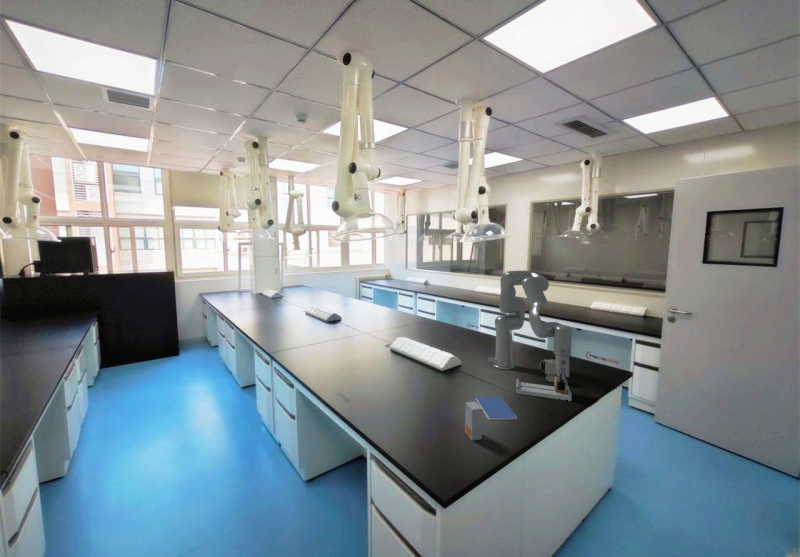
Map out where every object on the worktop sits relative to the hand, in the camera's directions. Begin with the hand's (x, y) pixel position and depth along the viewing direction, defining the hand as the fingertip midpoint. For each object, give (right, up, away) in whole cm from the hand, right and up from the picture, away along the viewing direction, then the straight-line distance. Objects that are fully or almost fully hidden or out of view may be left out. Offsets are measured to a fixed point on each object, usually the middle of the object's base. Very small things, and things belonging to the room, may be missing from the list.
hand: (560, 387), depth 153 cm
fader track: (-8, -3, +3) cm, 9 cm away
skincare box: (-50, -7, -34) cm, 61 cm away
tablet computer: (-35, -5, -13) cm, 38 cm away
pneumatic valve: (+4, -3, +18) cm, 19 cm away
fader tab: (0, -1, 0) cm, 1 cm away
